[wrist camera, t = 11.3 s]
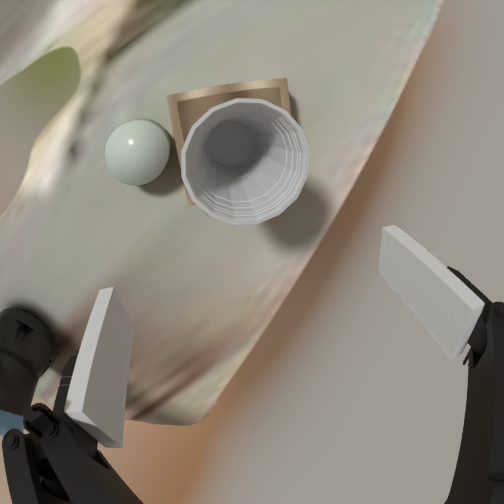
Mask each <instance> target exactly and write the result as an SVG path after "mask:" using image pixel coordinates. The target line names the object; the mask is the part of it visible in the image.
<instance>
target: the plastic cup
mask: <svg viewBox="0 0 504 504" xmlns="http://www.w3.org/2000/svg"><path fill="white" fill-rule="evenodd" d="M309 157H310V151H309V148H308V145H307V142H306V139H305V135H304V132H303V129H302V128H301V127H300V126H299V125H298V123H297V122H296V121H295V120H294V119H293V118H292V116H291V115H290V114H289V113H288V112H287V111H286V110H284V109H282V108H280V107H278V106H276V105H274V104H272V103H270V102H268V101H266V100H264V99H247V98H236V99H233V100H230V101H228V102H225V103H222V104H220V105H217V106H214V107H212V108H210V109H209V110H208V111H207V112H206V113H205V114H204V115H203V116H202V117H201V118H200V119H199V120H198V121H197V122H196V123H195V124H194V125H193V126H192V127H191V129H190V131H189V134H188V136H187V138H186V141H185V143H184V146H183V148H182V151H181V174H182V180H183V182H184V184H185V186H186V188H187V191H188V193H189V195H190V197H191V199H192V201H193V202H194V203H195V204H197V205H198V206H199V207H200V208H201V209H202V210H203V211H204V212H206V213H207V214H208V215H209V216H210V217H212V218H215V219H218V220H221V221H223V222H226V223H229V224H232V225H245V224H259V223H261V222H264V221H266V220H268V219H271V218H273V217H275V216H278V215H280V214H281V213H282V212H283V211H284V210H285V209H286V208H287V207H288V206H289V205H291V204H292V203H293V202H294V201H295V200H296V199H297V198H298V196H299V194H300V192H301V190H302V188H303V186H304V183H305V181H306V179H307V177H308V170H309Z"/></svg>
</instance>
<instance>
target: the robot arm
mask: <svg viewBox="0 0 504 504" xmlns="http://www.w3.org/2000/svg"><path fill="white" fill-rule="evenodd" d="M378 273H379V274H380V275H381V277H382V278H383V279H384V280H385V281H386V282H387V283H388V284H389V286H390V287H391V288H392V289H393V290H394V291H395V292H396V293H397V295H398V296H399V297H400V298H401V299H402V300H403V302H404V303H405V304H406V305H407V306H408V307H409V309H410V310H411V311H412V312H413V313H414V314H415V316H416V317H417V318H418V319H419V321H420V322H421V323H422V324H423V325H424V327H425V328H426V329H427V330H428V332H429V333H430V334H431V335H432V337H433V338H434V339H435V340H436V342H437V343H438V344H439V345H440V347H441V348H442V349H443V351H444V352H445V353H446V355H447V356H448V357H449V358H450V359H452V358H454V357H455V356H457V355H459V354H461V353H462V352H463V350H464V348H465V346H466V344H467V343H468V344H469V345H470V346H471V348H470V350H469V352H468V354H467V356H466V357H465V359H464V361H463V365H465V364H466V362H467V360H468V359H469V364H468V366H469V368H468V369H469V370H468V388H467V402H466V411H465V419H464V427H463V433H462V440H461V445H460V451H459V456H458V461H457V465H456V470H455V474H454V478H453V482H452V486H451V489H450V493H449V496H448V498H447V500H446V502H445V503H444V504H504V303H502V302H494V303H492V302H491V301H490V300H489V299H488V298H487V297H486V296H485V295H484V294H483V293H482V292H480V290H478V289H477V288H476V287H475V286H474V285H473V284H471V282H470V281H469V280H468V279H466V278H465V277H464V276H463V275H462V274H461V273H460V272H459V271H457V270H455V269H453V268H451V267H449V266H448V267H445V266H444V265H443V264H442V263H441V262H440V261H438V260H437V259H436V258H435V257H434V256H433V255H431V254H430V253H429V252H428V251H426V250H425V249H424V248H423V247H422V246H420V245H419V244H418V243H417V242H416V241H414V240H413V239H412V238H411V237H409V236H408V235H407V234H405V233H404V232H403V231H402V230H401V229H399V228H398V227H397V226H395V225H392V226H387V227H383V230H382V241H381V252H380V262H379V270H378ZM134 333H135V328H134V326H133V324H132V322H131V321H130V319H129V317H128V315H127V313H126V311H125V309H124V307H123V305H122V303H121V301H120V299H119V297H118V295H117V292H116V290H115V288H114V287H110V288H105V289H101V290H100V291H99V293H98V296H97V299H96V302H95V304H94V307H93V310H92V313H91V316H90V319H89V322H88V325H87V328H86V331H85V334H84V337H83V340H82V343H81V347H80V350H79V353H78V356H71V357H70V359H69V360H68V362H67V363H66V365H65V367H64V370H63V374H62V378H61V381H60V386H59V388H58V392H57V396H56V400H55V404H54V408H53V411H52V410H50V409H49V408H48V407H47V406H46V405H45V404H42V403H36V404H34V405H32V406H31V403H32V399H33V396H34V392H35V389H36V386H37V383H38V380H39V378H40V377H41V376H42V375H43V374H44V372H45V371H46V370H47V369H48V368H49V367H50V366H51V364H52V363H53V361H54V359H55V356H56V353H57V345H56V342H55V340H54V338H53V336H52V334H51V333H50V332H49V330H48V329H47V328H46V327H45V326H44V325H43V324H42V323H41V322H40V321H39V320H37V319H36V318H35V317H33V316H32V315H30V314H28V313H26V312H24V311H22V310H19V309H14V308H8V309H4V310H3V311H1V313H0V436H2V437H3V441H2V449H3V457H4V464H5V470H6V476H7V481H8V486H9V491H10V495H11V499H12V503H13V504H143V503H142V501H141V500H140V499H139V498H138V497H137V496H136V495H135V494H134V493H133V492H132V491H131V489H130V488H129V487H128V486H127V485H126V484H125V482H124V481H123V480H122V479H121V478H120V476H119V475H118V474H117V473H116V471H115V470H114V469H113V468H112V466H111V465H110V464H109V462H108V461H107V460H106V458H105V457H104V456H103V454H102V453H101V452H100V451H99V450H98V449H97V444H98V442H99V443H100V444H102V445H103V446H104V447H107V448H109V447H110V448H111V447H113V448H120V447H121V448H122V447H123V430H124V416H125V404H126V394H127V385H128V376H129V368H130V360H131V353H132V346H133V339H134ZM30 406H31V407H30ZM24 428H25V429H26V430H27V431H28V432H30V433H29V434H26V435H25V434H24V433H23V430H24Z"/></svg>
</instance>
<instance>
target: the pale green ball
mask: <svg viewBox="0 0 504 504" xmlns="http://www.w3.org/2000/svg"><path fill="white" fill-rule="evenodd" d="M170 153H171V141H170V137H169V135H168V133H167V131H166V130H165V129H164V128H163V127H162V126H161V125H160V124H159V123H157V122H155V121H152V120H149V119H138V120H134V121H131V122H128V123H126V124H123V125H121V126H120V127H118V128H117V129H116V130H115V131H114V132H113V133H112V134H111V136H110V137H109V139H108V141H107V144H106V148H105V161H106V165H107V167H108V169H109V171H110V173H111V174H112V175H113V176H114V177H115V178H116V179H117V180H119V181H120V182H122V183H125V184H128V185H135V186H136V185H144V184H147V183H149V182H151V181H153V180H154V179H155V178H157V177H158V176H159V175H160V174H161V172H162V171H163V169H164V168H165V166H166V164H167V161H168V159H169V157H170Z"/></svg>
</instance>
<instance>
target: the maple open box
mask: <svg viewBox="0 0 504 504" xmlns="http://www.w3.org/2000/svg"><path fill="white" fill-rule="evenodd" d="M236 98H247V99H264V100H266V101H268V102H270V103H272V104H274V105H276V106H278V107H280V108H282V109H284V110H286V111H287V112H288V113H289V114H290V115H291V109H290V100H289V91H288V83H287V78H282V79H269V80H259V81H249V82H241V83H233V84H226V85H220V86H213V87H207V88H202V89H196V90H191V91H186V92H181V93H177V94H172V95H168V96H167V100H168V106H169V112H170V117H171V123H172V128H173V133H174V138H175V143H176V148H177V153H178V158H179V163H180V168H181V151H182V148H183V146H184V143H185V141H186V138H187V136H188V134H189V131H190V129H191V127H192V126H193V125H194V124H195V123H196V122H197V121H198V120H199V119H200V118H201V117H202V116H203V115H204V114H205V113H206V112H207V111H208V110H209V109H210V108H212V107H214V106H217V105H220V104H222V103H225V102H228V101H230V100H233V99H236ZM184 187H185V191H186V196H187V200H188V204H189V206H192V205H197V204H195V203H194V202H193V201H192V199H191V197H190V195H189V193H188V191H187V188H186V186H185V184H184Z"/></svg>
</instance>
